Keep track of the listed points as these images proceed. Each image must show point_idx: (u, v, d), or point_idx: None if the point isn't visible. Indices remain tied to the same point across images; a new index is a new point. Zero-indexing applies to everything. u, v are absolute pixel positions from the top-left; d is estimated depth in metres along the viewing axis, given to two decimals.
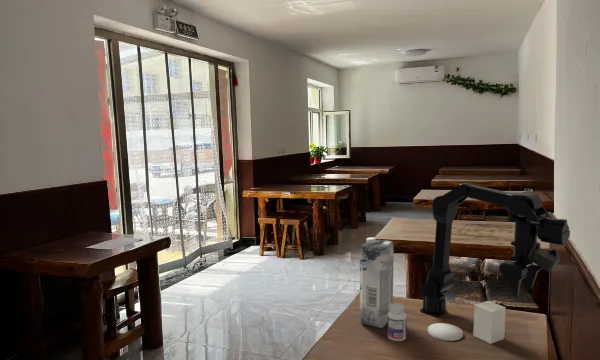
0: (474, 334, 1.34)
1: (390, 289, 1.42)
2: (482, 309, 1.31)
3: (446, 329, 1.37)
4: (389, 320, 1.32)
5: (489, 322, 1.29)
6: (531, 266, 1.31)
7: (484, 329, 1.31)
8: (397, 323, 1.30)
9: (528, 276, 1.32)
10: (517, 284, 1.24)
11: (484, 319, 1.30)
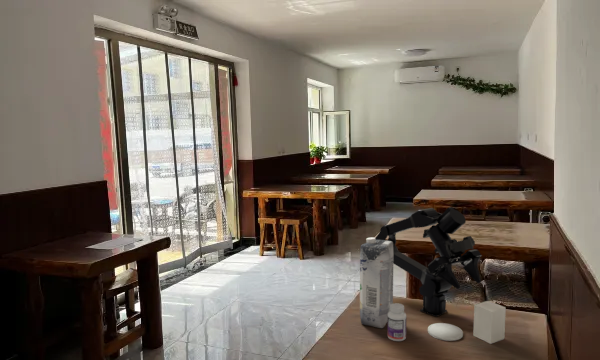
0: (474, 334, 1.34)
1: (390, 289, 1.42)
2: (482, 309, 1.31)
3: (446, 329, 1.37)
4: (389, 320, 1.32)
5: (489, 322, 1.29)
6: (469, 264, 1.44)
7: (484, 329, 1.31)
8: (397, 323, 1.30)
9: (472, 273, 1.42)
10: (450, 275, 1.36)
11: (484, 319, 1.30)
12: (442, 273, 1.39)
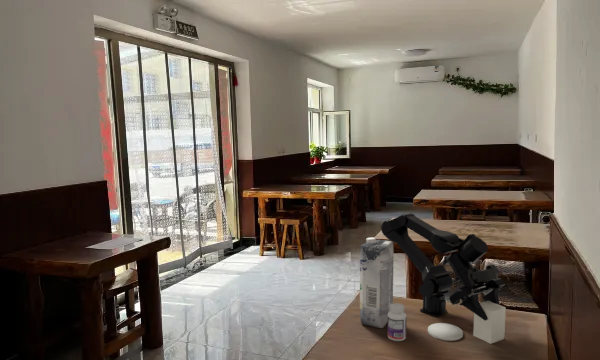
0: (474, 334, 1.34)
1: (390, 289, 1.42)
2: None
3: (446, 329, 1.37)
4: (389, 320, 1.32)
5: (489, 322, 1.29)
6: (489, 294, 1.36)
7: (484, 329, 1.31)
8: (397, 323, 1.30)
9: None
10: (477, 306, 1.30)
11: None
12: (468, 303, 1.33)
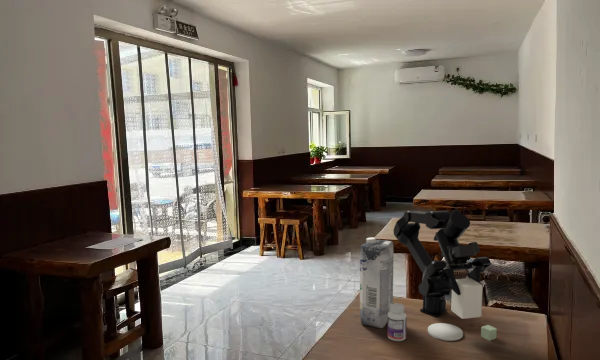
0: (451, 309, 1.35)
1: (390, 289, 1.42)
2: None
3: (446, 329, 1.37)
4: (389, 320, 1.32)
5: (461, 296, 1.30)
6: (472, 272, 1.36)
7: (458, 304, 1.31)
8: (397, 323, 1.30)
9: None
10: (451, 280, 1.32)
11: None
12: (445, 277, 1.34)
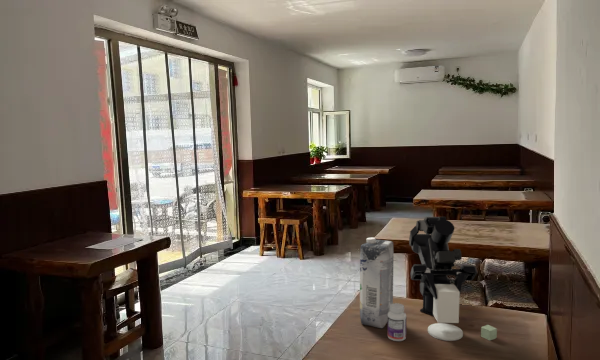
0: (433, 313, 1.38)
1: (390, 289, 1.42)
2: (436, 288, 1.35)
3: (446, 329, 1.37)
4: (389, 320, 1.32)
5: (437, 301, 1.33)
6: (456, 278, 1.37)
7: (436, 307, 1.35)
8: (397, 323, 1.30)
9: None
10: (430, 284, 1.36)
11: None
12: (427, 281, 1.38)
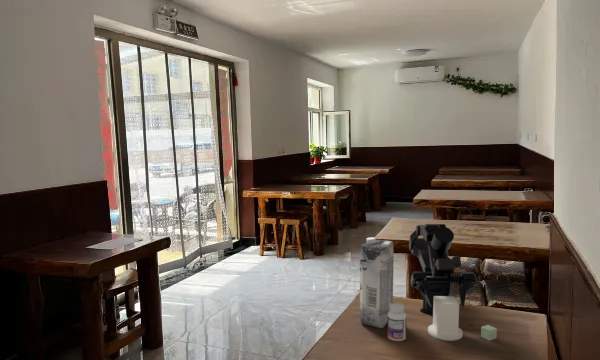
0: (433, 324, 1.39)
1: (390, 289, 1.42)
2: (435, 300, 1.35)
3: None
4: (389, 320, 1.32)
5: (437, 313, 1.33)
6: (460, 286, 1.37)
7: (435, 320, 1.35)
8: (397, 323, 1.30)
9: (460, 296, 1.36)
10: (425, 291, 1.36)
11: (436, 310, 1.35)
12: (422, 288, 1.39)
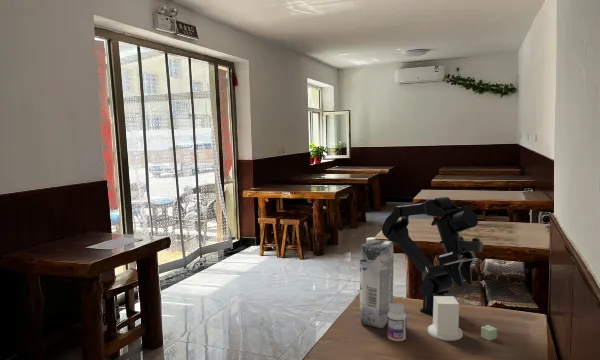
0: (433, 324, 1.39)
1: (390, 289, 1.42)
2: (435, 300, 1.35)
3: None
4: (389, 320, 1.32)
5: (437, 313, 1.33)
6: (464, 263, 1.45)
7: (435, 320, 1.35)
8: (397, 323, 1.30)
9: (465, 273, 1.44)
10: (458, 272, 1.35)
11: (436, 310, 1.35)
12: (449, 267, 1.36)
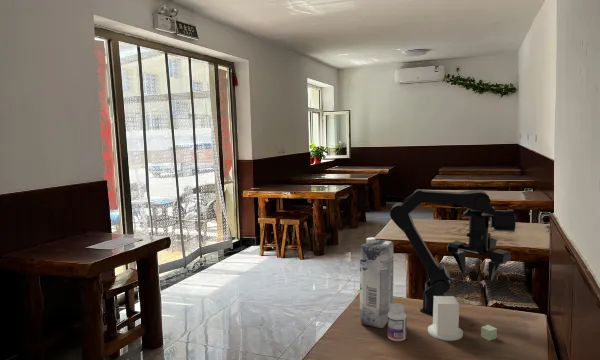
0: (433, 324, 1.39)
1: (390, 289, 1.42)
2: (435, 300, 1.35)
3: None
4: (389, 320, 1.32)
5: (437, 313, 1.33)
6: (462, 254, 1.49)
7: (435, 320, 1.35)
8: (397, 323, 1.30)
9: (462, 264, 1.49)
10: (496, 268, 1.42)
11: (436, 310, 1.35)
12: None
